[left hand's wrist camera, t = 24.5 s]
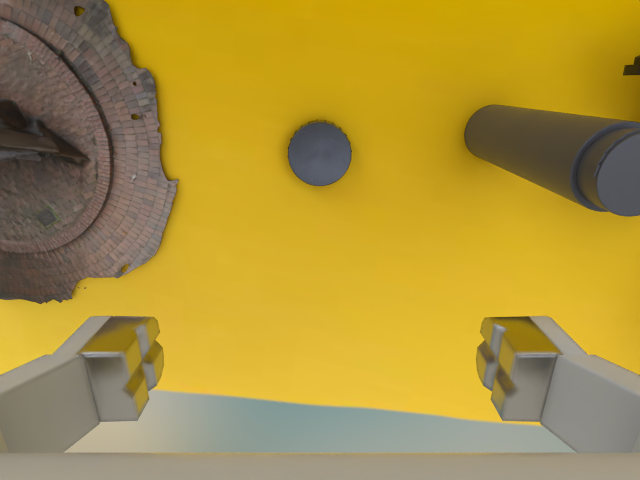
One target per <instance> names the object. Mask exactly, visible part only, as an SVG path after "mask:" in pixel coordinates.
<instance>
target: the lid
mask: <svg viewBox="0 0 640 480" xmlns="http://www.w3.org/2000/svg"><path fill="white" fill-rule="evenodd" d="M346 136H347V135H346V134H344V132H343V131H342V130H341V128H340V127H338V126H336V125H335V124H334V123H330V122H327V121H326V120H325V121H322V120H319V121H318V120H316V121H312V122H310V121H309V122H308V123H307V124H305V125H303V126H301V127H300V128H299V129H298V130H297V131H295V134H294V136H293V138H291V140H290V141H291V142H290V145H289V147H288V159H289V163H290V166H291V168H292V170H293V172H294V173H295V174H296V176H297V177H298V178H299V179H301V180H302V181H304V182H306V183H308V184H310V185H315V186H325V185H329V184H332V183H334V182H336V181H337V180H339V179H340V178H341V177H342V176H343V175H344V174H345V172H346V171H347V169H348V168H349V165H350V161H351V152H352V151H351V147H350V142H349V141H348V139H347V137H346Z"/></svg>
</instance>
